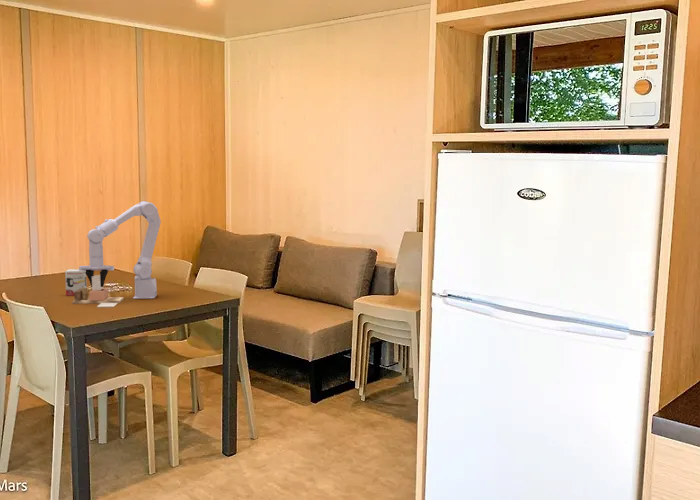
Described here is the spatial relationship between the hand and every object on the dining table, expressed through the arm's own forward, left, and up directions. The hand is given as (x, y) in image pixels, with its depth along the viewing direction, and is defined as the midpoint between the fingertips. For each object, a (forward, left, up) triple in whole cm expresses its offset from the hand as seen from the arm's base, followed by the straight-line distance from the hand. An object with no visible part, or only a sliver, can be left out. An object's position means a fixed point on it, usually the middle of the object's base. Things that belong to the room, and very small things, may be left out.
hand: (97, 286), depth 293 cm
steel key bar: (0, 0, -4) cm, 4 cm away
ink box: (+14, -16, -7) cm, 22 cm away
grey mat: (-6, +9, -7) cm, 13 cm away
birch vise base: (0, 0, -7) cm, 7 cm away
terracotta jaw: (0, 0, -5) cm, 6 cm away
